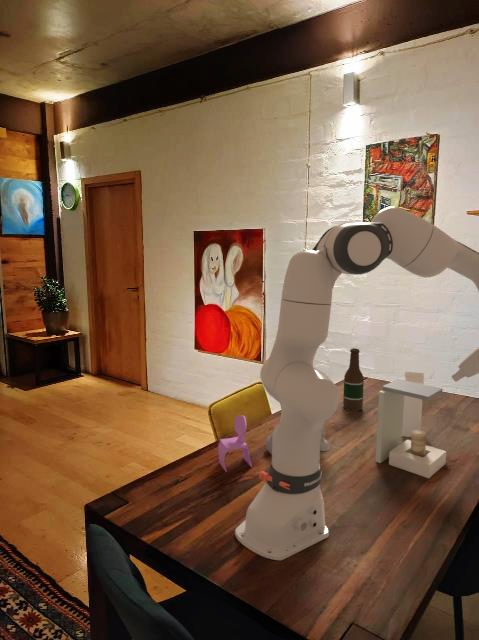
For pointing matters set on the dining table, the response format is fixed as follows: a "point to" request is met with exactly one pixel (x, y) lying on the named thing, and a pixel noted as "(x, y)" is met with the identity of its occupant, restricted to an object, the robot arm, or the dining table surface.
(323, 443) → the chalice
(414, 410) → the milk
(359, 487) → the dining table surface
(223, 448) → the toy chair
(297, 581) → the dining table surface
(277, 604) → the dining table surface
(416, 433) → the peg
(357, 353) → the beer bottle
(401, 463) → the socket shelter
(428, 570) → the dining table surface
